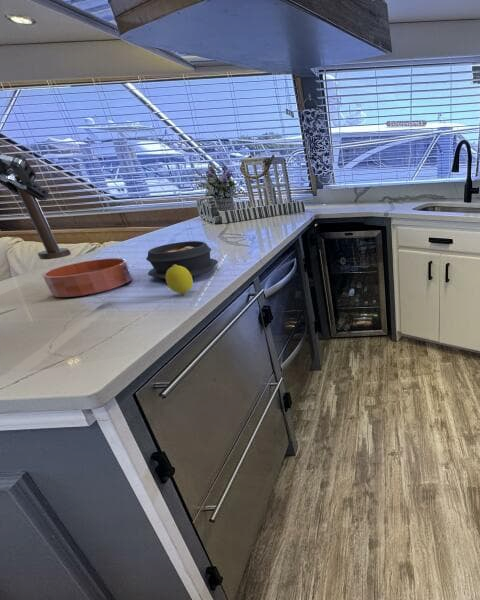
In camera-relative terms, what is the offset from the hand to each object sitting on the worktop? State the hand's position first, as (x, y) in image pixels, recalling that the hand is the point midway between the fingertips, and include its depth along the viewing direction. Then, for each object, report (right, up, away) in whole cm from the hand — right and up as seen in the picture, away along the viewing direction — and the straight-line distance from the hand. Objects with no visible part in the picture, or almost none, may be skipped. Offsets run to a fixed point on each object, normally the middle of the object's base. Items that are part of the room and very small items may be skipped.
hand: (39, 197), depth 66 cm
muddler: (0, -12, +3) cm, 12 cm away
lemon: (+18, -20, +17) cm, 32 cm away
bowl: (-13, -17, +25) cm, 33 cm away
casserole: (+7, -13, +35) cm, 38 cm away
